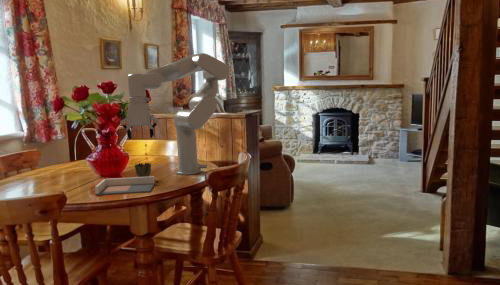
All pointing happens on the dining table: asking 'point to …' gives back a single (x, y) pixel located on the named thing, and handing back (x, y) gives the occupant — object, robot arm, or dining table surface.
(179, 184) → the dining table surface
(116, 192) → the mat
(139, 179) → the corner walls
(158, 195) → the dining table surface
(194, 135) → the robot arm
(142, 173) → the cup
